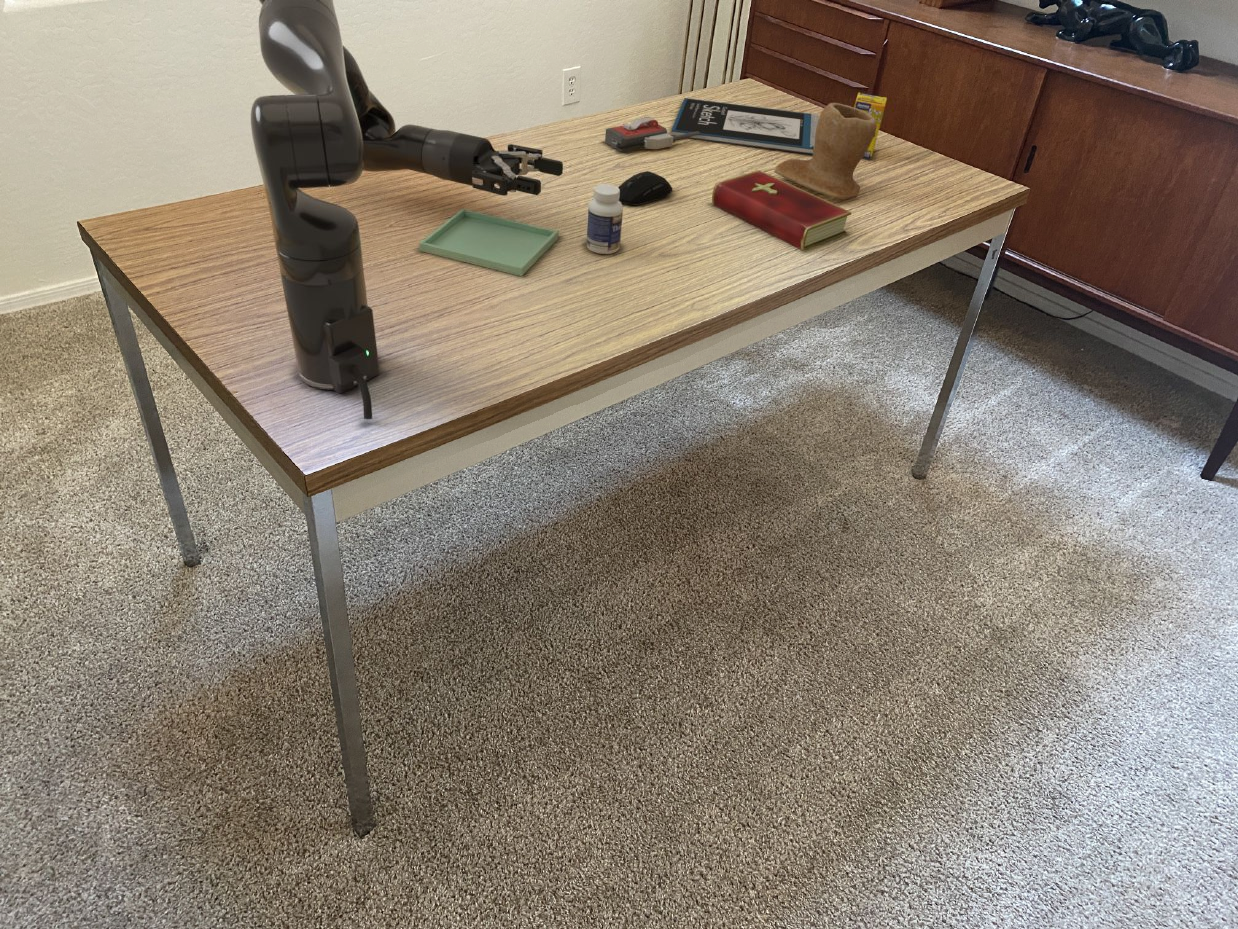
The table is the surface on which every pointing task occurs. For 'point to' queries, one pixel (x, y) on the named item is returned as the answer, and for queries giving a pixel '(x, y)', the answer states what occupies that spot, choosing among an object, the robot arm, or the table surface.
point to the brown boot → (834, 152)
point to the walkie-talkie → (642, 135)
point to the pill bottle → (604, 220)
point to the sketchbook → (747, 125)
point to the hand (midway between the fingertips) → (551, 178)
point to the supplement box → (874, 108)
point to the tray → (490, 241)
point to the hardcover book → (781, 209)
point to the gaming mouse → (644, 188)
